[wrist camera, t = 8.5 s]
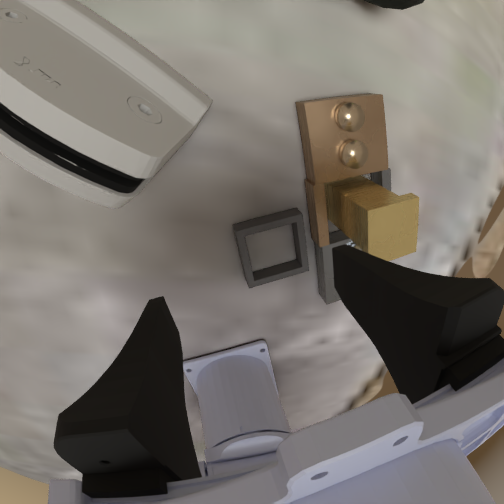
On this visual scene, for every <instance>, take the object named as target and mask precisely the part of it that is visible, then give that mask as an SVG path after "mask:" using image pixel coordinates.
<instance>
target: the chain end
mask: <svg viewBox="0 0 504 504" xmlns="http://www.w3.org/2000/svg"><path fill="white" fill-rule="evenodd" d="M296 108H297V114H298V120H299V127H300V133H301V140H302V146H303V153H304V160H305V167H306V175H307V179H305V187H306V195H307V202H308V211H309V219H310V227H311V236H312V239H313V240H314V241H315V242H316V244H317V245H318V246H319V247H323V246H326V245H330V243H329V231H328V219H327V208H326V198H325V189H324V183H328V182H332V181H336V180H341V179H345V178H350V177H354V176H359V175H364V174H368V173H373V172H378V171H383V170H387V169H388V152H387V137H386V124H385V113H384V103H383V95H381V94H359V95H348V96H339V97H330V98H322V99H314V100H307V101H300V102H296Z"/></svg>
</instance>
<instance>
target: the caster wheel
mask: <svg viewBox="0 0 504 504" xmlns="http://www.w3.org/2000/svg"><path fill="white" fill-rule="evenodd" d="M364 1H367V2H369V3H372V4H375V5H377V6H380V7H383V8H392V9H401V10H403V9H407V8H409V7H412V6H415V5H418V4H421V3H423V2H424V0H364Z"/></svg>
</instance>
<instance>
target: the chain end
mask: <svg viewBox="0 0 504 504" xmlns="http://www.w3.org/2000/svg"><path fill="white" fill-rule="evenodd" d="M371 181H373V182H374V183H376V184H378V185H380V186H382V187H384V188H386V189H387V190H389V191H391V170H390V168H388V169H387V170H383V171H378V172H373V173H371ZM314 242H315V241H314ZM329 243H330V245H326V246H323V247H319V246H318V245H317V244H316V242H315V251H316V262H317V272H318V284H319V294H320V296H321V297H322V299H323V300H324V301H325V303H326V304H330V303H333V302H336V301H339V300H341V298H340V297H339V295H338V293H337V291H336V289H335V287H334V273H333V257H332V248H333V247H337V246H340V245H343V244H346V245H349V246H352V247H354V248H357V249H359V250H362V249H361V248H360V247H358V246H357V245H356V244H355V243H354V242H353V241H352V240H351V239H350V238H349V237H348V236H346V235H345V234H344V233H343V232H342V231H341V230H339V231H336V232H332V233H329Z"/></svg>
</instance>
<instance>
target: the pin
mask: <svg viewBox="0 0 504 504" xmlns="http://www.w3.org/2000/svg"><path fill="white" fill-rule="evenodd" d="M324 185H325V194H326V205H327V215H328V219H329V220H330V221H331V222H332V223H333V224H334V225H335V226H337V227H338V228H339V229H340V230H341V231H342V232H343V233H344V234H345V235H346V236H348V237H349V238H350V239H351V240H352V241H353V242H354V243H355V244H356V245H357V246H358V247H360V248H361V249H362V251H364V252H366V253H369V254H371V255H374V256H376V257H379V258H381V259H384V260H386V261H390V260H393V259H396V258H399V257H402V256H405V255H407V254H410V253H413V252H416V245H417V231H418V213H419V197H418V196H416V195H414V194H412V193H409V194H405V195H401V196H398V195H396V194H395V193H393V192H391V191H389V190H387V189H386V188H384V187H382V186H380V185H378V184H376V183H374V182H373V181H371V180H369V179H367V178H365V177H363V176H361V175H359V176H354V177H350V178H345V179H341V180H336V181H332V182H328V183H324Z"/></svg>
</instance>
